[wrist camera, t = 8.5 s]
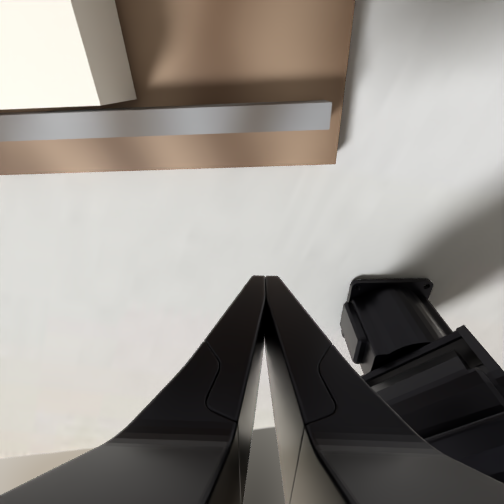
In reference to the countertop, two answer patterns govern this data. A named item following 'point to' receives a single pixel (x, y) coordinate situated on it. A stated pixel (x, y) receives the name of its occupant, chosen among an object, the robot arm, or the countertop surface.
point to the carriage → (62, 54)
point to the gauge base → (203, 92)
